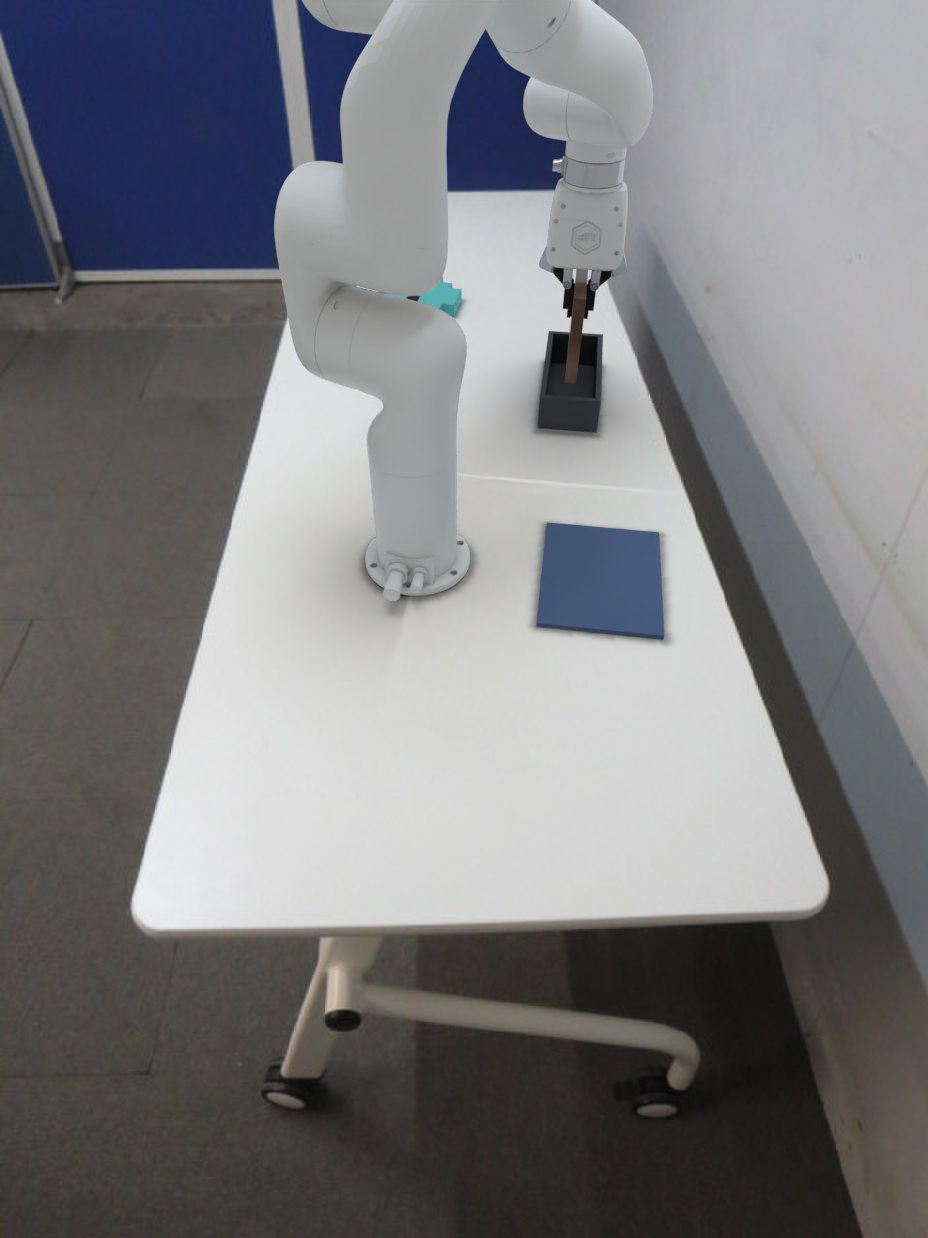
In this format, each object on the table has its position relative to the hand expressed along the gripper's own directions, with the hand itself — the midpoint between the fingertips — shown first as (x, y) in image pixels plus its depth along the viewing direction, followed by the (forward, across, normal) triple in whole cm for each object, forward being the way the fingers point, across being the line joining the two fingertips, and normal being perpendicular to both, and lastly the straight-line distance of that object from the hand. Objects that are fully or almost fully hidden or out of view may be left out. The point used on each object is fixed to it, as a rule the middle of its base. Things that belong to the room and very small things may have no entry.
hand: (577, 313), depth 114 cm
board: (+7, 0, 0) cm, 7 cm away
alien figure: (+13, -31, +30) cm, 45 cm away
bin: (+14, 0, +1) cm, 14 cm away
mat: (+14, +6, -40) cm, 43 cm away
